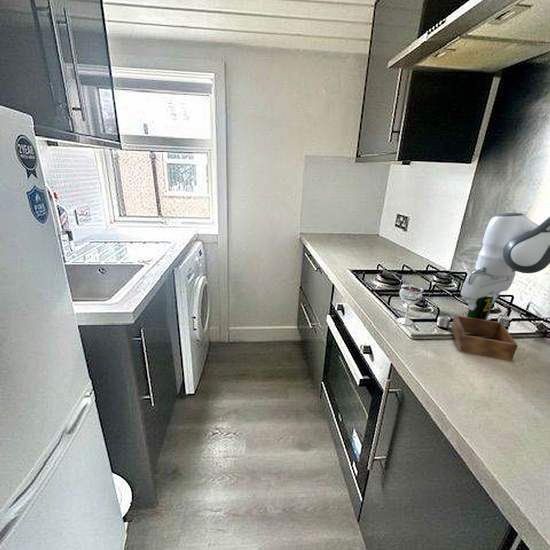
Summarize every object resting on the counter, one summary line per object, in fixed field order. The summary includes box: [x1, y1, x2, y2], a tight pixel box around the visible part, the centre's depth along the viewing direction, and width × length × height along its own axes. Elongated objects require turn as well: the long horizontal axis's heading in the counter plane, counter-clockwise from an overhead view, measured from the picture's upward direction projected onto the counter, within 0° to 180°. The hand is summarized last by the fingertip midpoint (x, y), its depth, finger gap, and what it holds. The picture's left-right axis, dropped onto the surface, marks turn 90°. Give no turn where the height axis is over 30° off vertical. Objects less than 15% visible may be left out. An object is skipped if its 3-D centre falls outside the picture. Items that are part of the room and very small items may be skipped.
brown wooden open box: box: [450, 314, 518, 362], centre depth 88 cm, size 13×13×5 cm
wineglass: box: [396, 283, 424, 326], centre depth 97 cm, size 7×7×12 cm
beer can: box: [466, 292, 494, 320], centre depth 97 cm, size 5×5×12 cm
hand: (480, 306), depth 97 cm, fingers open, 8 cm apart
